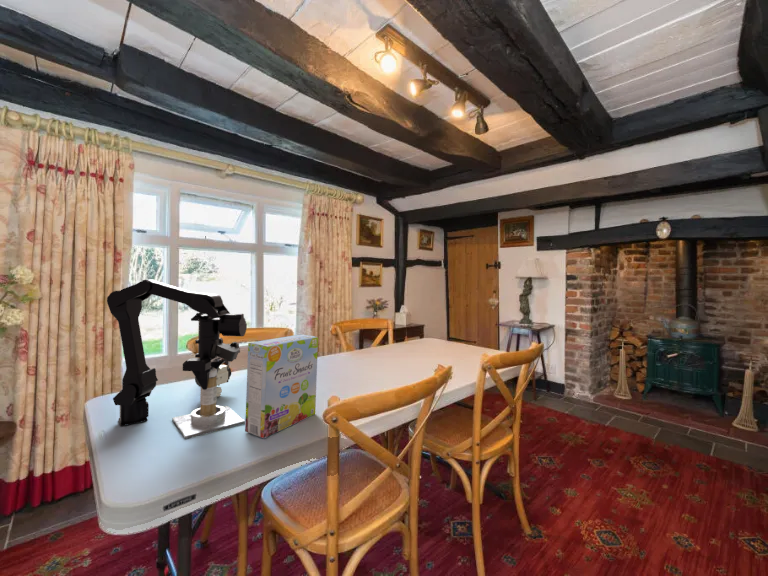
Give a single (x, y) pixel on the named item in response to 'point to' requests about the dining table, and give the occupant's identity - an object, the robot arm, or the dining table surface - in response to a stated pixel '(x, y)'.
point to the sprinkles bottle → (209, 395)
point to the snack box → (280, 383)
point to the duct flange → (207, 421)
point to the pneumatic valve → (220, 377)
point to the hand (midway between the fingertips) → (208, 387)
